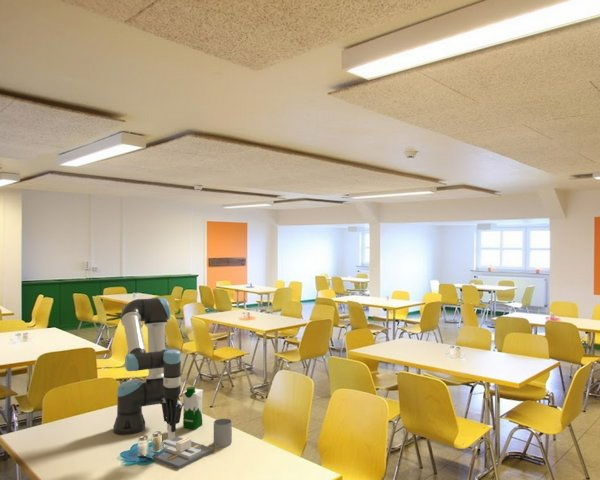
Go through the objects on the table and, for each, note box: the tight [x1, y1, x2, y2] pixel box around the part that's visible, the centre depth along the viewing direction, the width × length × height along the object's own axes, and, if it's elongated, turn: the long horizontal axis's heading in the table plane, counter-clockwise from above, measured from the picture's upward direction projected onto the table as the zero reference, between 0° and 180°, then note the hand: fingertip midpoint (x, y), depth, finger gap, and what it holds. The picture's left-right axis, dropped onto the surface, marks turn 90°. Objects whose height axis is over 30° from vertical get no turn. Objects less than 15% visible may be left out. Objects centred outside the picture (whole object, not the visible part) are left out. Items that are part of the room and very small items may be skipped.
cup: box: [213, 418, 233, 448], centre depth 217 cm, size 8×8×10 cm
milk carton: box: [182, 386, 204, 431], centre depth 238 cm, size 9×9×20 cm
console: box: [152, 436, 215, 470], centre depth 206 cm, size 24×20×3 cm
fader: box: [176, 437, 192, 452], centre depth 204 cm, size 3×6×5 cm, turn 146°
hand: (171, 438), depth 209 cm, fingers closed
